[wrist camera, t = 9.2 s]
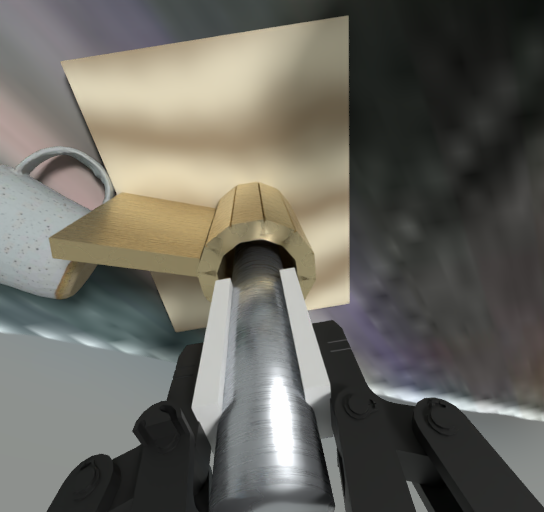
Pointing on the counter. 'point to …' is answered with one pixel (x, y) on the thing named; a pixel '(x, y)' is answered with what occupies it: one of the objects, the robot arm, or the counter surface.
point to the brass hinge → (188, 235)
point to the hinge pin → (265, 402)
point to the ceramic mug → (40, 227)
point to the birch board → (231, 135)
